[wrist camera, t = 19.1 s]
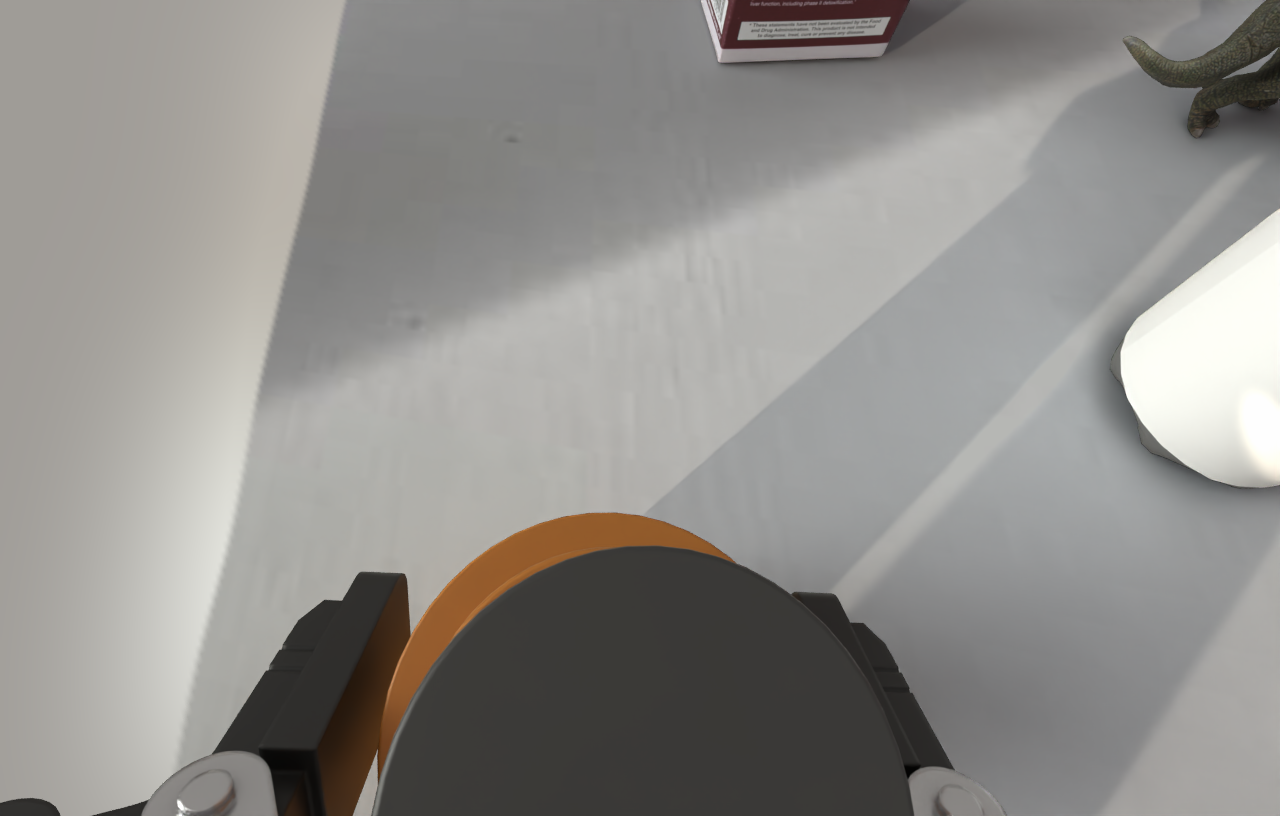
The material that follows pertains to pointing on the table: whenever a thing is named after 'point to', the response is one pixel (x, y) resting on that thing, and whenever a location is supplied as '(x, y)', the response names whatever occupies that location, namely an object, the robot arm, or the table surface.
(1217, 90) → the toy dinosaur
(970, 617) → the table surface
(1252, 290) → the cup
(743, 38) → the supplement box
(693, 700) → the bottle
